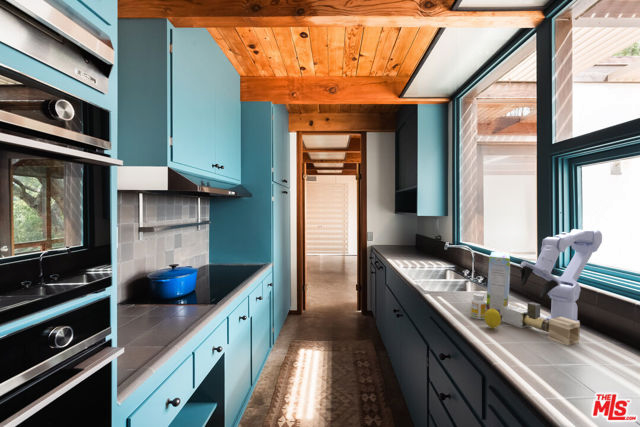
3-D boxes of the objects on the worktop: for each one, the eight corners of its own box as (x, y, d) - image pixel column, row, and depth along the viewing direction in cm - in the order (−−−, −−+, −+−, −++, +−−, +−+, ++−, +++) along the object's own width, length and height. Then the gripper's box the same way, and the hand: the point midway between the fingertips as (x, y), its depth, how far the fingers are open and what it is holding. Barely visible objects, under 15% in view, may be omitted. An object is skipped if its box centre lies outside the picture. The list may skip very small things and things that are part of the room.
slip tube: (510, 317, 130) (510, 296, 130) (553, 331, 115) (554, 307, 115) (503, 318, 129) (504, 296, 128) (546, 333, 114) (547, 309, 113)
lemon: (502, 332, 117) (503, 311, 116) (486, 330, 118) (487, 309, 117) (497, 326, 122) (498, 306, 122) (482, 325, 123) (482, 305, 123)
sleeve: (511, 319, 131) (512, 305, 131) (531, 326, 123) (531, 311, 123) (502, 321, 128) (502, 306, 128) (521, 328, 121) (522, 312, 121)
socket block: (560, 335, 114) (560, 316, 114) (579, 342, 109) (579, 322, 109) (548, 338, 112) (549, 319, 111) (567, 345, 106) (568, 325, 106)
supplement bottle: (484, 316, 134) (484, 293, 134) (486, 320, 129) (487, 297, 129) (470, 314, 136) (470, 292, 136) (472, 318, 131) (472, 295, 130)
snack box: (508, 318, 132) (510, 258, 131) (485, 314, 136) (487, 256, 136) (508, 305, 150) (510, 252, 150) (488, 302, 155) (490, 250, 154)
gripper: (533, 249, 122) (519, 278, 118) (571, 270, 118) (557, 300, 114) (523, 254, 128) (509, 281, 125) (559, 274, 124) (546, 303, 121)
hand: (532, 291), depth 120 cm, fingers open, 7 cm apart
